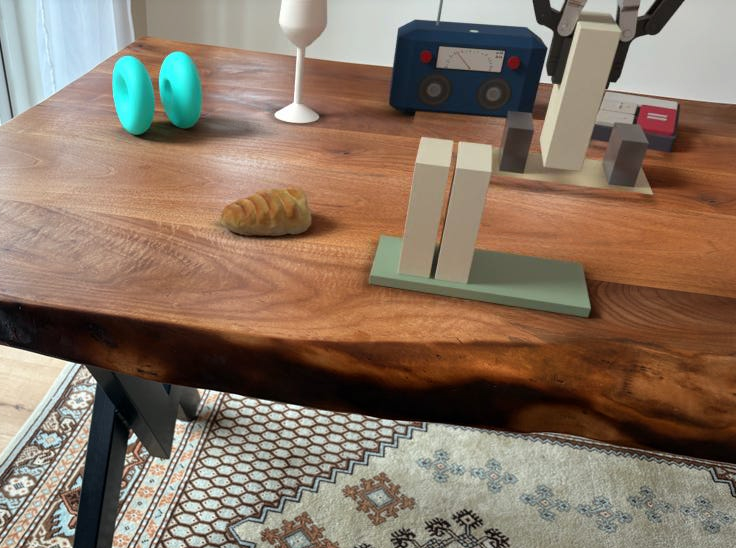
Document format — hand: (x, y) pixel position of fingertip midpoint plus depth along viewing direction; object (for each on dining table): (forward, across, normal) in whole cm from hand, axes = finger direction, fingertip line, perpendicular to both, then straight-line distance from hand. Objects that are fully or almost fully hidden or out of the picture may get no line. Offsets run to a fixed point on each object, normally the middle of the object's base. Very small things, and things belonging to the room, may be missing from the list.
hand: (579, 83), depth 63 cm
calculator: (+19, +16, +51) cm, 57 cm away
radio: (+19, -9, +53) cm, 57 cm away
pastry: (+19, -26, +5) cm, 33 cm away
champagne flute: (+19, -32, +43) cm, 57 cm away
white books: (+19, -4, 0) cm, 20 cm away
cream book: (+6, 0, 0) cm, 6 cm away
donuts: (+19, -48, +30) cm, 60 cm away
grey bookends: (+19, +6, +31) cm, 37 cm away
